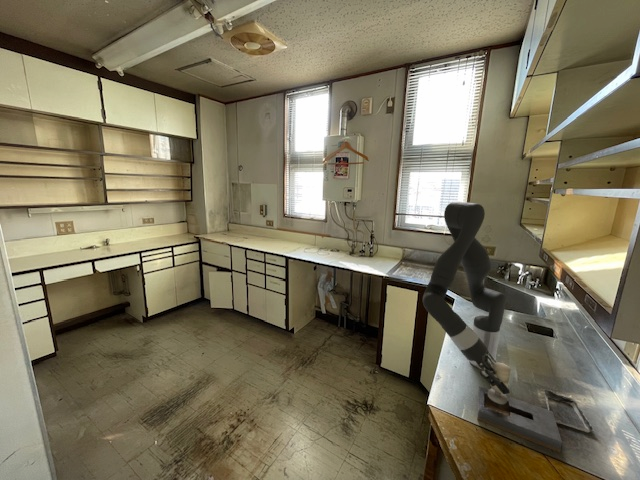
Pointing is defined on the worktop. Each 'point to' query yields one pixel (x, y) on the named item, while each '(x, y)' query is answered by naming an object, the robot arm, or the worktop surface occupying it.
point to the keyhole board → (520, 420)
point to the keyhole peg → (503, 374)
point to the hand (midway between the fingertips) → (506, 387)
